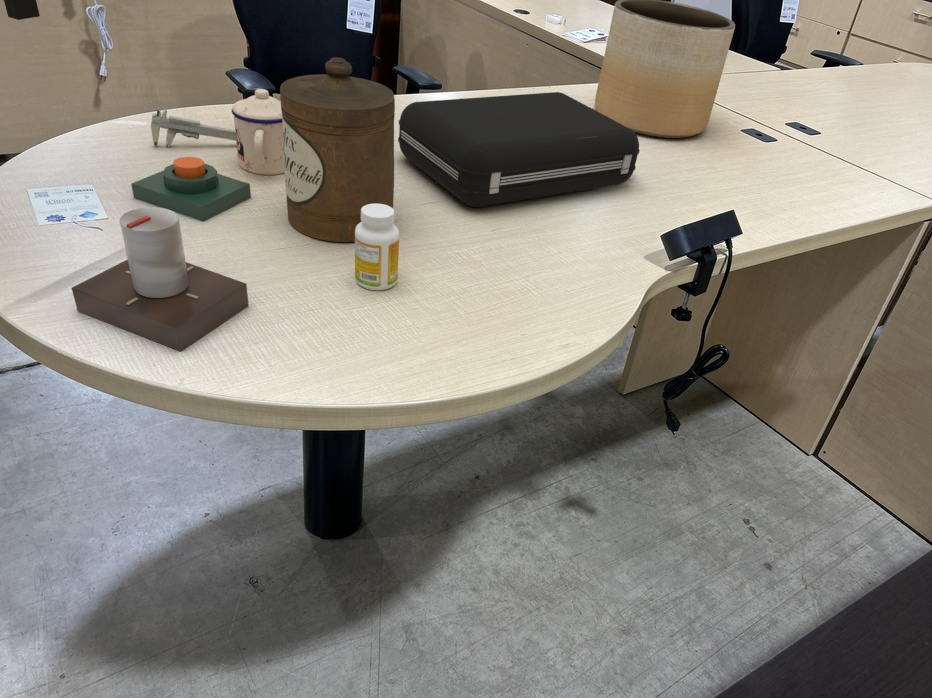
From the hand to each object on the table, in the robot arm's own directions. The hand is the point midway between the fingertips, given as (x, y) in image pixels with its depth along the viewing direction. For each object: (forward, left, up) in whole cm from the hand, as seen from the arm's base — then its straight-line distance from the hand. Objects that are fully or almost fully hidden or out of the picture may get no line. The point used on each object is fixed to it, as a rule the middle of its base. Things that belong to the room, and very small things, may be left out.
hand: (24, 16), depth 82 cm
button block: (+7, +14, -24) cm, 29 cm away
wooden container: (+27, +21, -25) cm, 42 cm away
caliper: (-3, +32, -25) cm, 40 cm away
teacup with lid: (+8, +29, -25) cm, 39 cm away
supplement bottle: (+40, +9, -25) cm, 48 cm away
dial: (+24, -10, -21) cm, 34 cm away
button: (+7, +14, -21) cm, 26 cm away
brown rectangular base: (+24, -10, -24) cm, 36 cm away
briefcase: (+38, +57, -25) cm, 73 cm away
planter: (+53, +104, -25) cm, 119 cm away
